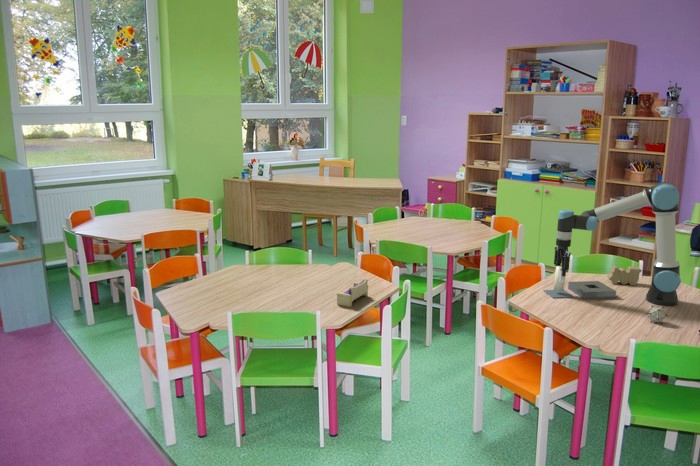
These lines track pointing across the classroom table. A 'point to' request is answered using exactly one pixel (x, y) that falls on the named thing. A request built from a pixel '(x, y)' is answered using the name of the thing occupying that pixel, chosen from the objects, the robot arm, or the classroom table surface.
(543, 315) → the classroom table surface
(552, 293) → the mat
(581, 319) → the classroom table surface
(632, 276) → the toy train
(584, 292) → the housing
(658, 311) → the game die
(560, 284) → the end plug
